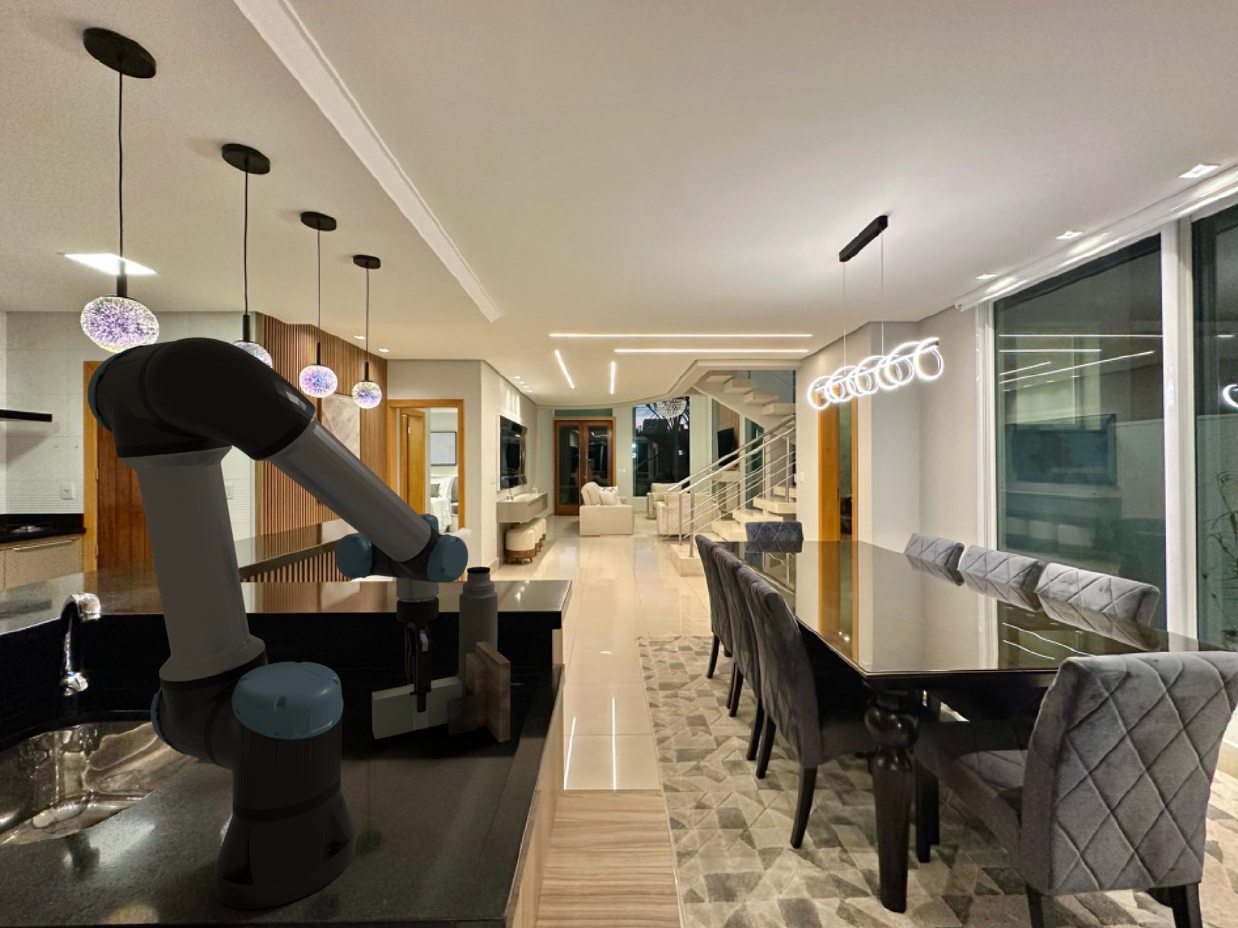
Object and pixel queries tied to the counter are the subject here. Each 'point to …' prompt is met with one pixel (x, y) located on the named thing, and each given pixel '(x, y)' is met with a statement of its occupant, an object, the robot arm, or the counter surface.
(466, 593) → the thermos bottle
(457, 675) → the rectangular block
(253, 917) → the counter surface
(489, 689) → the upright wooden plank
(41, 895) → the counter surface
